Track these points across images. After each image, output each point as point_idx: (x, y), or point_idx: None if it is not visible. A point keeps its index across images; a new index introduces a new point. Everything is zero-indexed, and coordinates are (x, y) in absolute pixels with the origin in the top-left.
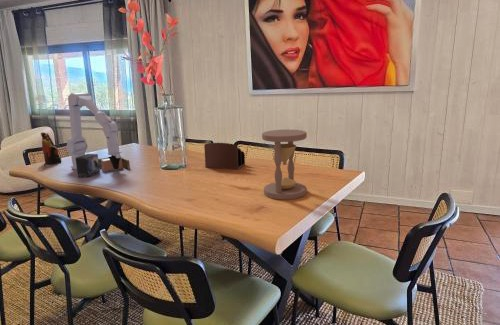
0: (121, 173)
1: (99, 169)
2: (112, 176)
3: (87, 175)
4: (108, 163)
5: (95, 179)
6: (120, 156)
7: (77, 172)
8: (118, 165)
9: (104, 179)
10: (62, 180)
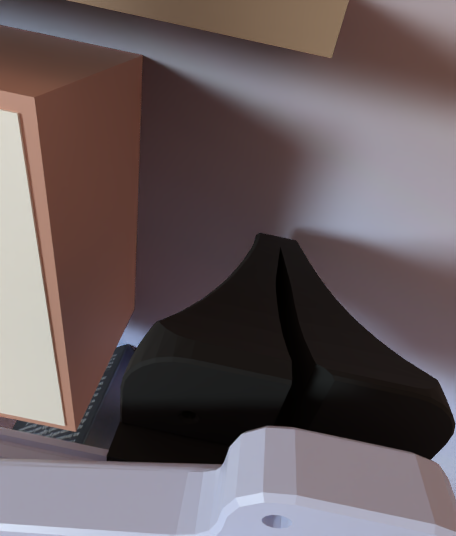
0: (451, 263)
1: (122, 375)
2: (444, 373)
3: None
4: (94, 335)
5: None
6: (432, 411)
7: None
8: (312, 273)
9: (451, 443)
10: None
